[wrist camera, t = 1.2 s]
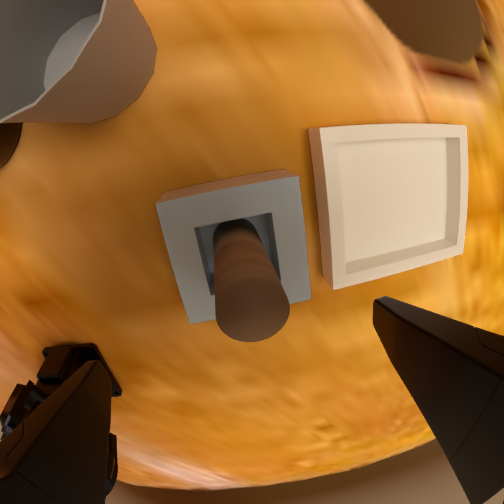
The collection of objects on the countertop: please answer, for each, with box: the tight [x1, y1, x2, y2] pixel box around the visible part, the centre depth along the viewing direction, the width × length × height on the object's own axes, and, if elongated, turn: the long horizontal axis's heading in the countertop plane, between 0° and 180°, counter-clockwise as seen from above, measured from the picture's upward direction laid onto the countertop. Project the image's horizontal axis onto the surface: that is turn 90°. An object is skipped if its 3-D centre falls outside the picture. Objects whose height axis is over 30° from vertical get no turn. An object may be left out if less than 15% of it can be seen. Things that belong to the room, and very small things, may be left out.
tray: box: [308, 123, 468, 290], centre depth 20 cm, size 11×13×2 cm
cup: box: [0, 0, 157, 124], centre depth 10 cm, size 8×8×10 cm
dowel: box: [213, 218, 290, 342], centre depth 16 cm, size 3×3×9 cm
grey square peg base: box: [155, 169, 311, 324], centre depth 19 cm, size 8×8×4 cm
